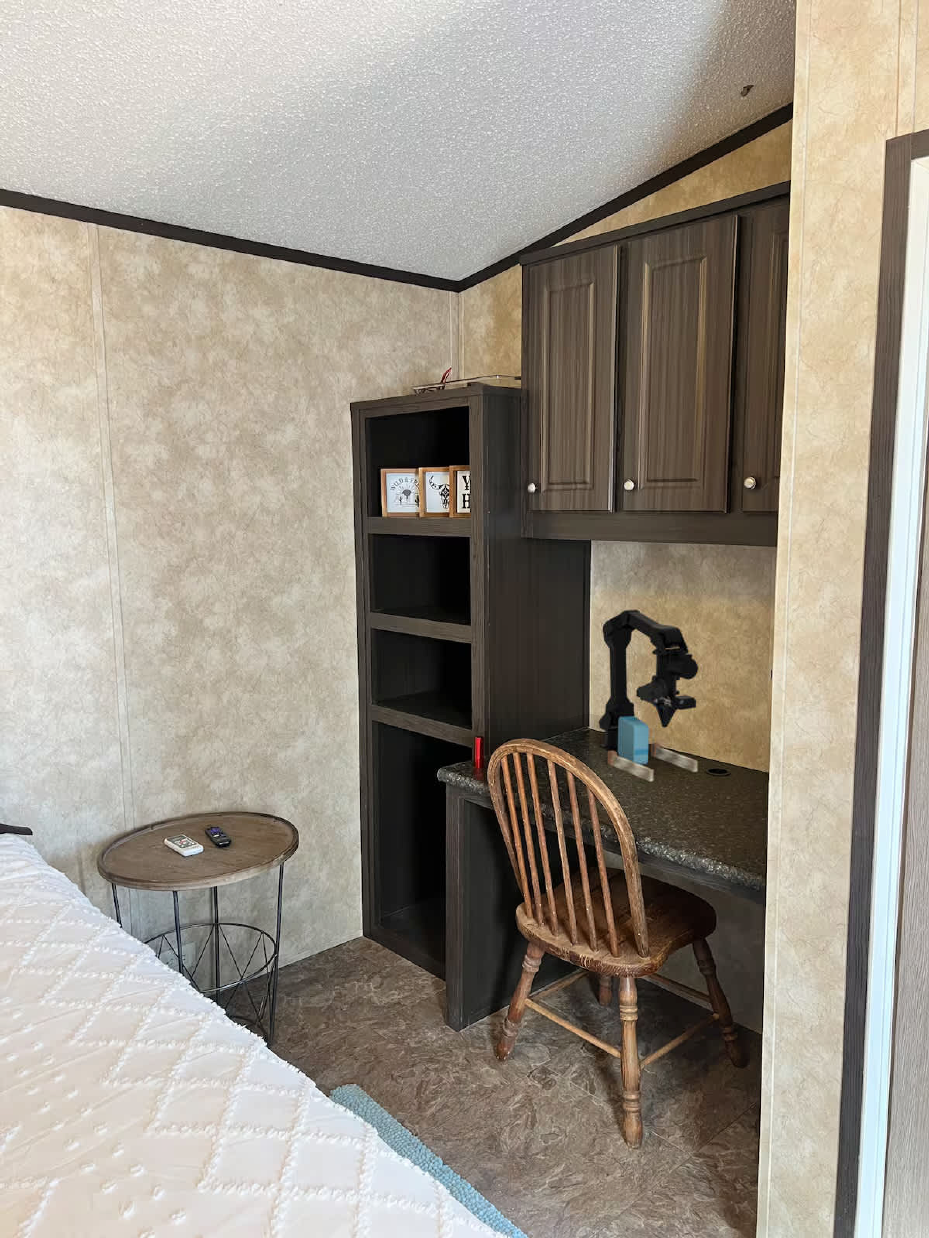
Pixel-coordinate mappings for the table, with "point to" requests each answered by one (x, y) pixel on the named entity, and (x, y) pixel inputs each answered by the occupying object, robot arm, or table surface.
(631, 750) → the data package
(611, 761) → the bay
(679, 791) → the table surface
